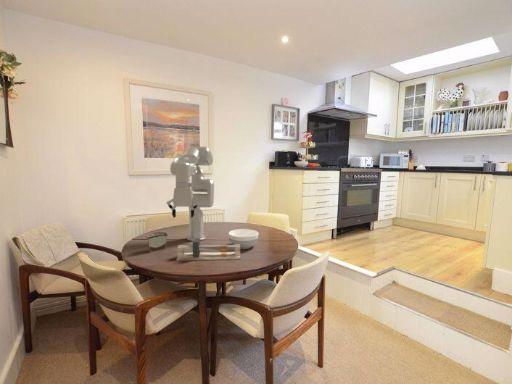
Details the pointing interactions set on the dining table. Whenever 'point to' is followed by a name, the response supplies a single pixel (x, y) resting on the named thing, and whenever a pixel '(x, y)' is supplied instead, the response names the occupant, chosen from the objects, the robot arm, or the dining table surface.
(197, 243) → the collar
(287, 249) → the dining table surface
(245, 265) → the dining table surface
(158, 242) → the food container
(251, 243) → the bowl
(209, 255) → the pipe rig
